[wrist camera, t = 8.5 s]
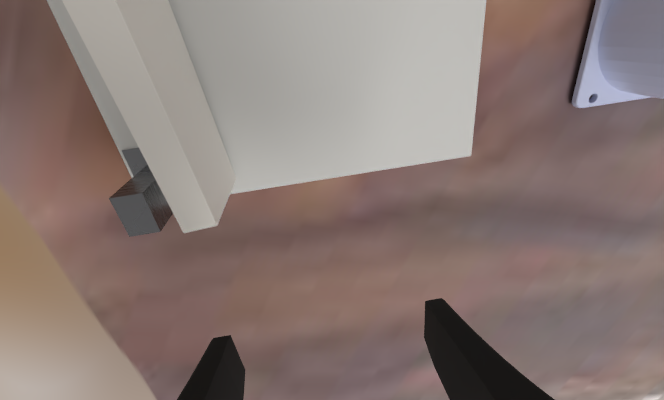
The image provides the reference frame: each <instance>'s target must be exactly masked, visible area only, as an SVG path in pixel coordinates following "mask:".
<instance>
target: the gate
mask: <svg viewBox="0 0 664 400" xmlns="http://www.w3.org/2000/svg"><path fill="white" fill-rule="evenodd" d="M62 1H63V3H64V5H65V7H66V9H67V11H68V13H69V15H70V17H71V19H72V21H73V22H74V24H75V26H76V28H77V30H78V32H79V34H80V36H81V38H82V40H83V42H84V44H85V45H86V47H87V49H88V51H89V53H90V55H91V57H92V59H93V61H94V63H95V65H96V67H97V68H98V70H99V72H100V74H101V76H102V78H103V80H104V82H105V84H106V86H107V88H108V90H109V91H110V93H111V95H112V97H113V99H114V101H115V103H116V105H117V107H118V109H119V111H120V112H121V114H122V116H123V118H124V120H125V122H126V124H127V126H128V128H129V130H130V132H131V134H132V135H133V137H134V139H135V141H136V143H137V145H138V147H139V149H140V151H141V153H142V155H143V157H144V158H145V160H146V162H147V164H148V166H149V168H150V170H151V172H152V174H153V176H154V178H155V179H156V181H157V183H158V185H159V187H160V189H161V191H162V193H163V195H164V197H165V199H166V201H167V202H168V204H169V206H170V208H171V210H172V212H173V214H174V216H175V218H176V220H177V222H178V224H179V225H180V227H181V229H182V231H183V233H187V232H192V231H196V230H200V229H205V228H209V227H214V226H217V225H218V223H219V220H220V218H221V215H222V213H223V210H224V208H225V205H226V203H227V201H228V198H229V196H230V193H231V191H232V188H233V186H234V183H235V181H236V177H235V174H234V171H233V169H232V166H231V164H230V161H229V158H228V156H227V153H226V150H225V148H224V145H223V143H222V140H221V137H220V135H219V132H218V129H217V127H216V124H215V122H214V119H213V116H212V114H211V111H210V108H209V106H208V103H207V101H206V98H205V95H204V93H203V90H202V87H201V85H200V82H199V80H198V77H197V74H196V72H195V69H194V66H193V64H192V61H191V59H190V56H189V53H188V51H187V48H186V45H185V43H184V40H183V38H182V35H181V32H180V30H179V27H178V24H177V22H176V19H175V17H174V14H173V11H172V9H171V6H170V3H169V1H168V0H62Z"/></svg>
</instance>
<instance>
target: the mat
mask: <svg viewBox="0 0 664 400" xmlns="http://www.w3.org/2000/svg"><path fill="white" fill-rule="evenodd" d="M168 1H169V3H170V6H171V9H172V11H173V14H174V17H175V19H176V22H177V24H178V27H179V30H180V32H181V35H182V38H183V40H184V43H185V45H186V48H187V51H188V53H189V56H190V59H191V61H192V64H193V66H194V69H195V72H196V74H197V77H198V80H199V82H200V85H201V87H202V90H203V93H204V95H205V98H206V101H207V103H208V106H209V108H210V111H211V114H212V116H213V119H214V122H215V124H216V127H217V129H218V132H219V135H220V137H221V140H222V143H223V145H224V148H225V150H226V153H227V156H228V158H229V161H230V164H231V166H232V169H233V171H234V174H235V177H236V181H235V183H234V186H233V188H232V191H231V193H230V194H234V193H241V192H247V191H253V190H260V189H266V188H272V187H278V186H285V185H291V184H297V183H304V182H310V181H316V180H322V179H329V178H335V177H341V176H348V175H354V174H360V173H366V172H373V171H379V170H385V169H392V168H398V167H404V166H410V165H417V164H423V163H429V162H436V161H442V160H448V159H454V158H461V157H467V156H471V152H472V142H473V131H474V121H475V111H476V100H477V90H478V80H479V70H480V59H481V49H482V39H483V29H484V18H485V8H486V0H168ZM47 2H48V4H49V6H50V8H51V11H52V13H53V15H54V17H55V19H56V21H57V23H58V25H59V27H60V29H61V31H62V33H63V36H64V38H65V40H66V42H67V44H68V46H69V48H70V50H71V52H72V54H73V56H74V59H75V61H76V63H77V65H78V67H79V69H80V71H81V73H82V75H83V77H84V79H85V81H86V84H87V86H88V88H89V90H90V92H91V94H92V96H93V98H94V100H95V102H96V104H97V106H98V109H99V111H100V113H101V115H102V117H103V119H104V121H105V123H106V125H107V127H108V129H109V132H110V134H111V136H112V138H113V140H114V142H115V144H116V146H117V148H118V150H119V152H120V154H121V157H122V159H123V161H124V163H125V165H126V167H127V169H128V171H129V173H130V175H131V177H132V178H133V177H134V176H133V174H132V172H131V170H130V168H129V165H128V163H127V161H126V159H125V157H124V155H123V153H122V150H126V149H132V148H139V147H138V145H137V143H136V141H135V139H134V137H133V135H132V134H131V132H130V130H129V128H128V126H127V124H126V122H125V120H124V118H123V116H122V114H121V112H120V111H119V109H118V107H117V105H116V103H115V101H114V99H113V97H112V95H111V93H110V91H109V90H108V88H107V86H106V84H105V82H104V80H103V78H102V76H101V74H100V72H99V70H98V68H97V67H96V65H95V63H94V61H93V59H92V57H91V55H90V53H89V51H88V49H87V47H86V45H85V44H84V42H83V40H82V38H81V36H80V34H79V32H78V30H77V28H76V26H75V24H74V22H73V21H72V19H71V17H70V15H69V13H68V11H67V9H66V7H65V5H64V3H63V1H62V0H47Z"/></svg>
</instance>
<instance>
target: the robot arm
mask: <svg viewBox="0 0 664 400" xmlns="http://www.w3.org/2000/svg"><path fill="white" fill-rule="evenodd" d="M591 95H592V97H591V99H590V100H589V98H590V96H591ZM650 97H656V98H661V99H664V0H596V3H595V7H594V11H593V15H592V19H591V23H590V28H589V32H588V36H587V40H586V44H585V48H584V52H583V57H582V61H581V65H580V69H579V73H578V77H577V81H576V86H575V90H574V94H573V98H572V104H573V106H575V107H578V108H586V107H592V106H599V105H605V104H612V103H618V102H624V101H631V100H637V99H644V98H650ZM424 338H425V341H426V344H427V347H428V350H429V353H430V356H431V359H432V361H433V364H434V367H435V369H436V371H437V373H438V375H439V378H440V380H441V382H442V384H443V386H444V388H445V390H446V393H447V395H448V397H449V399H450V400H554V399H553V398H552V397H550V396H549V395H548V394H546V393H545V392H544V391H543V390H541V389H540V388H539V387H537V386H536V385H535V384H534V383H532V382H531V381H530V380H529V379H527V378H526V377H525V376H524V375H522V374H521V373H520V372H519V371H518V370H517V369H515V368H514V367H513V366H512V365H511V364H510V363H508V362H507V361H506V360H505V359H504V358H503V357H501V356H500V355H499V354H498V353H497V352H496V351H495V350H494V349H493V348H492V347H491V346H489V345H488V344H487V343H486V342H485V341H484V340H483V339H482V338H481V337H480V336H479V335H478V334H477V333H476V332H475V331H474V330H473V329H472V328H471V327H470V326H469V325H468V324H467V323H466V322H465V321H464V320H463V319H462V318H461V317H460V316H459V315H458V314H457V313H456V312H455V311H454V310H453V309H452V308H451V307H450V306H449V305H448V304H447V303H446V302H445V300H443V299H442V298H440V299H434V300H429V301H425V330H424ZM244 381H245V368H244V366H243V364H242V361H241V359H240V357H239V354H238V352H237V350H236V347H235V345H234V343H233V340H232V338H231V335H229V336H223V337H217V338H213V339H212V341H211V342H210V344H209V346H208V348H207V350H206V351H205V353H204V355H203V357H202V358H201V360H200V362H199V364H198V365H197V367H196V369H195V371H194V372H193V374H192V376H191V377H190V379H189V381H188V382H187V384H186V386H185V387H184V389H183V391H182V392H181V394H180V395H179V397H178V399H177V400H243V396H244Z"/></svg>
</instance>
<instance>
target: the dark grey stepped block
mask: <svg viewBox="0 0 664 400" xmlns="http://www.w3.org/2000/svg"><path fill="white" fill-rule="evenodd" d="M122 153H123V155H124V157H125V159H126V161H127V163H128V165H129V168H130V170H131V172H132V174H133V176H134V177H133V178H132V179H130V180H129V181H128V182H127V183H126V184H125V185H124V186H123V187H121V188H120V189H119V190H118V191H117V192H116V193H115V194H113V195H112V196H111V197H110V198H109V199H110V201H111V203H112V205H113V207H114V209H115V210H116V212H117V214H118V216H119V218H120V220H121V222H122V224H123V225H124V227H125V229H126V231H127V233H128V235H129V237H130V236H137V235H143V234H149V233H155V232H160V231H161V230H162V229H163V227H164V226H165V224H166V223H167V221H168V220H169V218H170V217H171V215H172V214H173V212H172V210H171V208H170V206H169V204H168V202H167V201H166V199H165V197H164V195H163V193H162V191H161V189H160V187H159V185H158V183H157V181H156V179H155V178H154V176H153V174H152V172H151V170H150V168H149V166H148V164H147V162H146V160H145V158H144V157H143V155H142V153H141V151H140V149H139V148H132V149H126V150H122Z"/></svg>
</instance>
